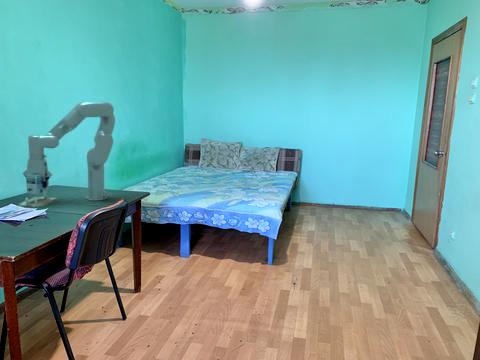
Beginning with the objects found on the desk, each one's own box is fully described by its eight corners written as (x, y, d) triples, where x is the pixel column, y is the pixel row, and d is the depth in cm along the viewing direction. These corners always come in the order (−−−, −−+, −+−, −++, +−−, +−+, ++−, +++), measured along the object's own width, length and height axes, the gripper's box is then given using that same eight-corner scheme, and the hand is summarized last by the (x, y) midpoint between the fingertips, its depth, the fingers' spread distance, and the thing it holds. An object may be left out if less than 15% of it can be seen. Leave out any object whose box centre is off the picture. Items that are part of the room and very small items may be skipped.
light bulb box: (37, 194, 207) (36, 175, 205) (26, 193, 208) (25, 174, 206) (49, 190, 217) (48, 172, 215) (39, 189, 218) (38, 171, 216)
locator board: (58, 199, 223) (58, 197, 223) (42, 207, 205) (42, 205, 205) (35, 198, 223) (35, 196, 222) (17, 205, 205) (17, 203, 205)
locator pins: (51, 198, 222) (50, 192, 221) (36, 204, 206) (36, 198, 205) (40, 197, 221) (40, 191, 221) (25, 204, 206) (24, 198, 205)
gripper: (55, 156, 213) (56, 186, 216) (25, 155, 212) (26, 185, 216) (48, 158, 205) (49, 189, 209) (17, 156, 205) (19, 187, 208)
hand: (38, 187), depth 212 cm, fingers closed on light bulb box, 7 cm apart
